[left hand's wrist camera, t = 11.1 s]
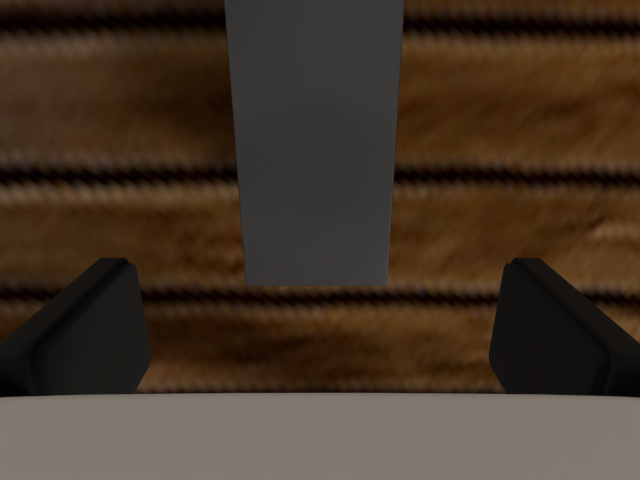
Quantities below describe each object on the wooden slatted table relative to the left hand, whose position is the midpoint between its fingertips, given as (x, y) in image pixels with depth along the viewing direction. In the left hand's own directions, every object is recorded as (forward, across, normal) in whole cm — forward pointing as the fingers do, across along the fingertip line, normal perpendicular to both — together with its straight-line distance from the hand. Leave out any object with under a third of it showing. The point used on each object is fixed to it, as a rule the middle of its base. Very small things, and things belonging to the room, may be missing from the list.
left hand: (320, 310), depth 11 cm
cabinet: (+17, 0, -7) cm, 19 cm away
